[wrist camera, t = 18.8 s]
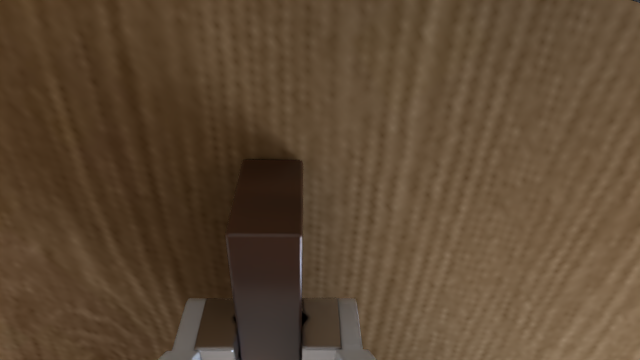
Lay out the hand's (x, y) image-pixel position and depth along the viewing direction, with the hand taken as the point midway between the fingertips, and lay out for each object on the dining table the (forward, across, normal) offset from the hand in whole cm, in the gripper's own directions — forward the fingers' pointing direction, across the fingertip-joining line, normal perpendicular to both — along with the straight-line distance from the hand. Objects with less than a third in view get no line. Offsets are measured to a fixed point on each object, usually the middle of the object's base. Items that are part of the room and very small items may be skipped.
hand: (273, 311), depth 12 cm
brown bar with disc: (+2, 0, 0) cm, 2 cm away
